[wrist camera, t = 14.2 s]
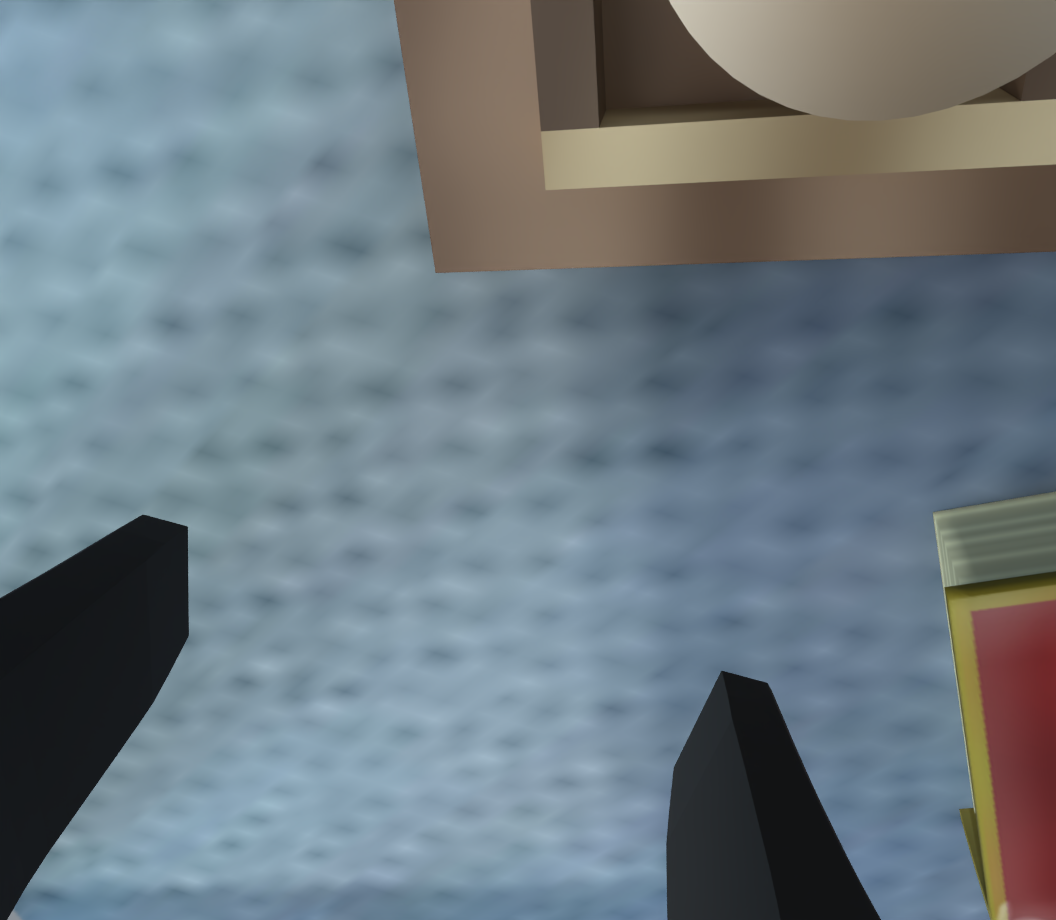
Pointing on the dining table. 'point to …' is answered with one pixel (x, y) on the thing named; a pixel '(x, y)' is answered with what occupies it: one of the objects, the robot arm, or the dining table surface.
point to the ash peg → (872, 50)
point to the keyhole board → (692, 151)
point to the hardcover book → (1006, 692)
